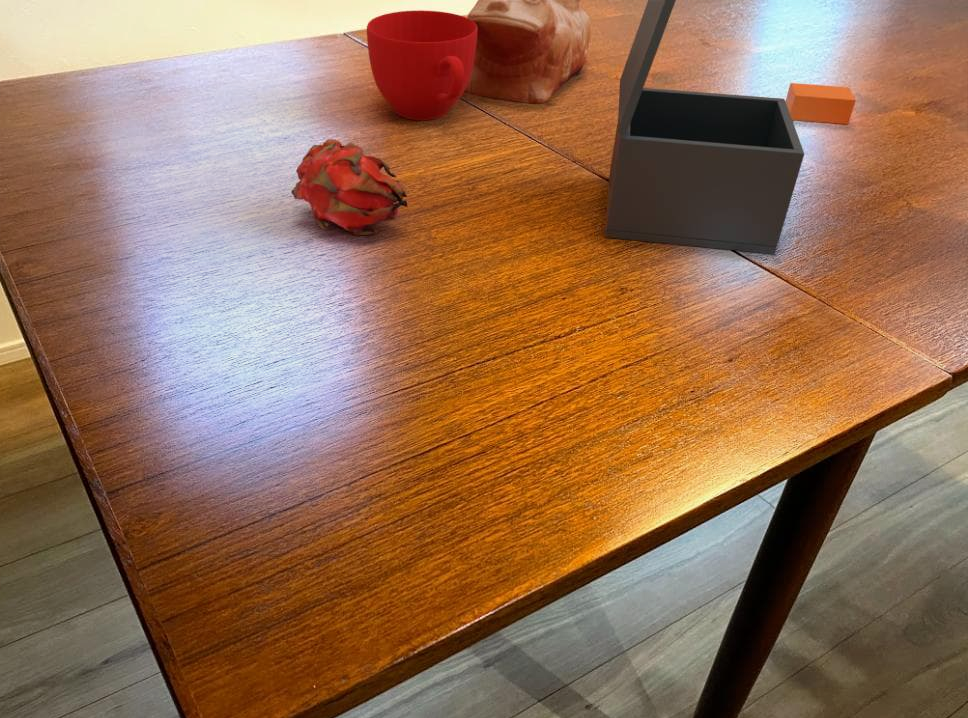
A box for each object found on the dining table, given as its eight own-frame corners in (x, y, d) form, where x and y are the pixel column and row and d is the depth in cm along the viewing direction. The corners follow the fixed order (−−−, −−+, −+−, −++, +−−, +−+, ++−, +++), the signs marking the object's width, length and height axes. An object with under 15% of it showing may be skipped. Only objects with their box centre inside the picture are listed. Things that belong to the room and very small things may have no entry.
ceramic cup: (405, 150, 99) (405, 59, 93) (353, 99, 111) (350, 16, 105) (507, 133, 103) (513, 45, 97) (446, 86, 115) (449, 5, 109)
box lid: (692, -100, 77) (631, -117, 77) (701, -69, 67) (630, -88, 67) (627, 82, 88) (573, 67, 88) (625, 134, 77) (564, 116, 77)
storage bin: (759, 191, 92) (784, 98, 86) (774, 254, 82) (804, 153, 76) (608, 178, 94) (622, 85, 88) (605, 237, 84) (620, 137, 78)
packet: (841, 110, 111) (849, 87, 109) (848, 124, 107) (856, 100, 105) (783, 106, 112) (790, 82, 110) (788, 119, 108) (795, 95, 106)
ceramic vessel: (435, 101, 111) (438, -28, 102) (509, 44, 130) (518, -69, 120) (539, 120, 107) (552, -13, 97) (600, 58, 125) (616, -58, 116)
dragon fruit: (300, 217, 89) (400, 263, 86) (258, 199, 81) (366, 249, 78) (333, 138, 88) (436, 181, 85) (293, 112, 80) (405, 159, 77)
